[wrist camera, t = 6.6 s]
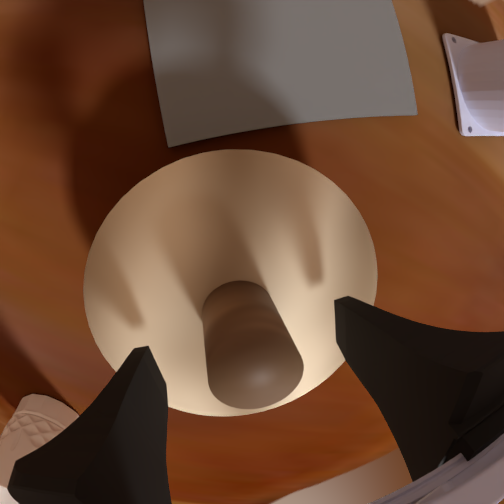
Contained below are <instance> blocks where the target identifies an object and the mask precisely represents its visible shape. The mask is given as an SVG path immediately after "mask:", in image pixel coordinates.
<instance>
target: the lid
mask: <svg viewBox="0 0 504 504" xmlns="http://www.w3.org/2000/svg"><path fill="white" fill-rule="evenodd" d="M376 289H377V261H376V255H375V250H374V245H373V242H372V239H371V236H370V233H369V230H368V228H367V225H366V224H365V222H364V220H363V218H362V216H361V214H360V213H359V211H358V209H357V208H356V207H355V205H354V204H353V203H352V201H351V200H350V199H349V198H348V196H347V195H346V194H345V193H344V192H343V191H342V190H341V189H340V188H339V187H338V186H337V185H336V184H334V183H333V182H332V181H331V180H329V179H328V178H327V177H325V176H324V175H322V174H321V173H319V172H318V171H317V170H315V169H313V168H311V167H309V166H307V165H305V164H303V163H301V162H299V161H297V160H294V159H291V158H288V157H284V156H281V155H278V154H274V153H269V152H263V151H256V150H238V149H226V150H218V151H210V152H204V153H200V154H196V155H193V156H189V157H186V158H182V159H180V160H178V161H176V162H173V163H171V164H169V165H167V166H165V167H162V168H161V169H159V170H157V171H156V172H154V173H153V174H151V175H150V176H148V177H147V178H145V179H143V180H142V181H140V182H139V183H138V184H137V185H136V186H134V187H133V188H132V189H131V190H130V191H129V192H128V193H126V194H125V195H124V196H123V197H122V198H121V199H120V200H119V202H118V203H117V204H116V205H115V206H114V208H113V209H112V210H111V211H110V213H109V214H108V215H107V217H106V218H105V220H104V222H103V223H102V225H101V227H100V228H99V230H98V232H97V234H96V236H95V239H94V241H93V243H92V246H91V249H90V251H89V255H88V259H87V263H86V268H85V273H84V288H83V292H84V304H85V311H86V315H87V320H88V324H89V327H90V329H91V332H92V335H93V337H94V339H95V342H96V344H97V345H98V347H99V349H100V351H101V352H102V354H103V356H104V357H105V359H106V360H107V361H108V362H109V364H110V365H111V366H112V368H113V369H114V370H115V371H116V372H117V371H118V369H119V368H120V366H121V365H122V364H123V362H124V361H125V359H126V358H127V357H128V355H129V354H130V353H131V351H132V350H133V349H134V348H138V347H143V346H149V348H150V350H151V352H152V354H153V356H154V359H155V361H156V363H157V365H158V367H159V369H160V372H161V374H162V376H163V378H164V380H165V382H166V385H167V397H168V407H171V408H174V409H177V410H181V411H184V412H189V413H194V414H199V415H208V416H237V415H247V414H252V413H257V412H262V411H265V410H269V409H272V408H275V407H278V406H281V405H283V404H286V403H288V402H290V401H293V400H294V399H296V398H298V397H300V396H302V395H304V394H306V393H307V392H309V391H310V390H312V389H313V388H315V387H316V386H318V385H319V384H320V383H322V382H323V381H324V380H325V379H327V378H328V377H329V376H330V375H331V374H332V373H333V372H334V371H335V370H336V369H337V368H338V367H339V366H340V365H341V364H342V363H343V362H344V361H345V358H344V356H343V354H342V352H341V350H340V348H339V346H338V345H337V343H336V331H335V310H334V300H335V299H339V298H342V297H345V296H351V297H353V298H356V299H358V300H361V301H363V302H365V303H368V304H370V305H372V306H373V305H374V301H375V296H376Z"/></svg>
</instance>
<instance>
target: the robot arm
mask: <svg viewBox="0 0 504 504" xmlns="http://www.w3.org/2000/svg"><path fill="white" fill-rule="evenodd" d="M442 38H443V42H444V46H445V50H446V54H447V59H448V63H449V68H450V73H451V78H452V83H453V89H454V95H455V102H456V109H457V116H458V125H459V131H460V133H461V135H463V136H504V39H503V40H496V41H490V42H484V43H479V42H476V41H473V40H470V39H467V38H463V37H460V36H457V35H453V34H449V33H445V34H443V36H442ZM452 40H453V41H452ZM334 310H335V331H336V343H337V345H338V346H339V348H340V350H341V352H342V354H343V356H344V358H345V360H346V361H347V363H348V364H349V366H350V367H351V369H352V370H353V371H354V373H355V374H356V376H357V377H358V378H359V380H360V381H361V382H362V384H363V385H364V387H365V388H366V389H367V391H368V392H369V394H370V395H371V396H372V398H373V399H374V401H375V402H376V404H377V405H378V407H379V409H380V411H381V412H382V414H383V416H384V418H385V420H386V422H387V424H388V426H389V428H390V430H391V432H392V434H393V436H394V438H395V440H396V442H397V444H398V446H399V448H400V451H401V453H402V455H403V458H404V460H405V462H406V465H407V467H408V470H409V473H410V475H411V478H412V481H413V482H412V483H410V484H408V485H406V486H405V487H403V488H401V489H399V490H397V491H395V492H393V493H391V494H389V495H386V496H384V497H382V498H380V499H378V500H375V501H373V502H371V503H368V504H498V503H499V502H500V501H501V500H502V499H503V498H504V332H467V331H457V330H450V329H444V328H438V327H434V326H430V325H426V324H421V323H418V322H414V321H411V320H408V319H405V318H402V317H400V316H397V315H394V314H392V313H389V312H387V311H384V310H382V309H379V308H377V307H375V306H372V305H370V304H368V303H365V302H363V301H361V300H358V299H356V298H353V297H351V296H345V297H342V298H339V299H335V300H334ZM167 419H168V397H167V385H166V382H165V380H164V378H163V376H162V374H161V372H160V369H159V367H158V365H157V363H156V361H155V359H154V356H153V354H152V352H151V350H150V348H149V346H143V347H138V348H134V349H133V350H132V351H131V353H130V354H129V355H128V357H127V358H126V359H125V361H124V362H123V364H122V365H121V366H120V368H119V369H118V371H117V372H116V373H115V375H114V376H113V377H112V379H111V380H110V382H109V383H108V384H107V385H106V387H105V388H104V389H103V390H102V392H101V393H100V394H99V395H98V397H97V398H96V399H95V400H94V401H93V403H92V404H91V405H90V406H89V407H88V408H87V409H86V410H85V411H84V412H83V413H82V414H81V415H80V416H79V417H78V418H77V419H76V420H75V421H74V422H73V423H71V424H70V425H69V426H68V427H67V428H66V429H64V430H63V431H62V432H61V433H60V434H58V435H57V436H56V437H54V438H53V439H52V440H50V441H49V442H47V443H46V444H44V445H43V446H41V447H40V448H38V449H36V450H35V451H33V452H31V453H29V454H27V455H25V456H23V457H22V458H20V459H18V460H16V461H15V464H14V467H13V470H12V473H11V476H10V480H9V483H8V487H7V490H8V492H9V494H10V495H11V496H12V498H13V499H14V500H15V501H17V502H18V503H19V504H172V503H171V497H170V491H169V484H168V476H167V466H166V439H167Z"/></svg>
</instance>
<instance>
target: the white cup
mask: <svg viewBox="0 0 504 504" xmlns="http://www.w3.org/2000/svg"><path fill="white" fill-rule="evenodd" d="M78 417H79V415H78V414H77V413H76V412H75V411H74V410H72V409H71V408H69V407H68V406H67V405H65V404H64V403H62V402H60V401H58V400H56V399H54V398H51V397H49V396H46V395H39V394H30V395H28V396H25V397H23V398H22V399H21V401H20V403H19V405H18V407H17V409H16V411H15V413H14V414H13V417H12V418H11V419H10V420H9V421H8V423H7V425H6V427H5V428H4V430H3V432H2V434H1V436H0V504H19V503H18V502H17V501H15V500H14V499H13V498H12V496H11V495H10V494H9V492H8V490H7V487H8V483H9V480H10V476H11V473H12V470H13V467H14V464H15V461H16V460H18V459H20V458H22V457H23V456H25V455H27V454H29V453H31V452H33V451H35V450H36V449H38V448H40V447H41V446H43V445H44V444H46V443H47V442H49V441H50V440H52V439H53V438H54V437H56V436H57V435H58V434H60V433H61V432H62V431H63V430H64V429H66V428H67V427H68V426H69V425H70V424H71V423H73V422H74V421H75V420H76V419H77V418H78Z"/></svg>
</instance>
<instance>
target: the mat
mask: <svg viewBox="0 0 504 504" xmlns="http://www.w3.org/2000/svg"><path fill="white" fill-rule="evenodd" d="M143 1H144V9H145V16H146V24H147V31H148V38H149V44H150V51H151V57H152V63H153V69H154V75H155V81H156V87H157V92H158V98H159V103H160V109H161V114H162V119H163V124H164V129H165V134H166V139H167V144H168V148H169V147H173V146H178V145H182V144H186V143H190V142H195V141H199V140H204V139H209V138H213V137H218V136H223V135H228V134H234V133H239V132H245V131H250V130H256V129H262V128H269V127H275V126H282V125H290V124H297V123H305V122H314V121H323V120H334V119H345V118H358V117H375V116H400V115H418V114H417V107H416V101H415V94H414V89H413V83H412V78H411V73H410V68H409V63H408V59H407V54H406V50H405V46H404V42H403V38H402V34H401V31H400V27H399V23H398V20H397V17H396V13H395V10H394V7H393V4H392V1H391V0H143Z"/></svg>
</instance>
